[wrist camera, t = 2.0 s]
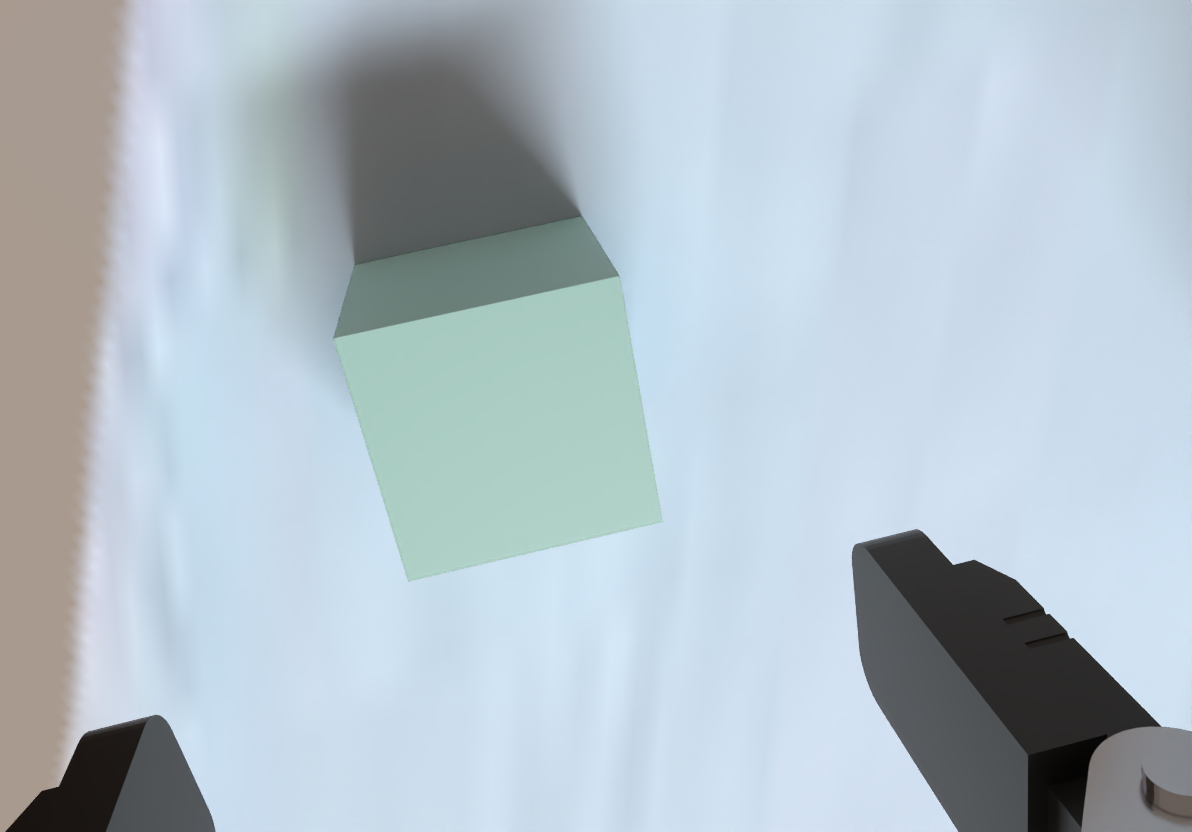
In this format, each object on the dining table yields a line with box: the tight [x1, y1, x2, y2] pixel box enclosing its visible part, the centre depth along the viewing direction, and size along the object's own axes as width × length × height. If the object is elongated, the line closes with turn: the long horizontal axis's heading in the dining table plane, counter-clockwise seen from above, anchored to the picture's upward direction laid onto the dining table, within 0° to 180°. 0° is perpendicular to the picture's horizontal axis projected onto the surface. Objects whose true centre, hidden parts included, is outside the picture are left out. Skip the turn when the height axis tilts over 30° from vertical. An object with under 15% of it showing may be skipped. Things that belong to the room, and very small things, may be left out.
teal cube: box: [333, 216, 663, 581], centre depth 21 cm, size 5×5×5 cm
